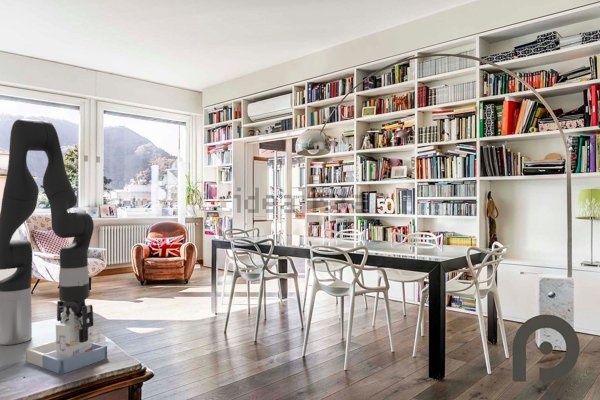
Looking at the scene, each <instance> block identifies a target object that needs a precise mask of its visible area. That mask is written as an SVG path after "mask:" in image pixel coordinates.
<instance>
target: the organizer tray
mask: <svg viewBox="0 0 600 400" xmlns="http://www.w3.org/2000/svg"><path fill="white" fill-rule="evenodd" d="M106 359H108V346H107V345H104V344H101V343H97V342H94V341H92V350H91V351H88V352H85V353H82V354H79V355H76V356H72V357H69V358H66V359H63V360H61V359H58V358H57V350H56V340H53V341H49V342H45V343H42V344H39V345H36V346H31V347H28V348H25V362H27V363H29V364H33V365H35V366H37V367H40V368H43V369H46V370H48V371H51V372H53V373H56V374H58V375H63V374H66V373H69V372H72V371H75V370H78V369H80V368H84V367H86V366H89V365H93V364H95V363H98V362H101V361H103V360H106Z"/></svg>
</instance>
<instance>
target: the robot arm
mask: <svg viewBox="0 0 600 400" xmlns="http://www.w3.org/2000/svg"><path fill="white" fill-rule="evenodd" d="M9 138H10V139H9V151H8V152H9V153H8V165H7V172H6V178H5V183H4V188H3V192H2V193H3V194H2V199H1V206H0V207H1V208H0V271H1V270H10V269H16V270H15V271H14V272H13V274H11V275H9V276H7V277H6V278H3V279H1V280H0V345H3V346H10V345H11V346H12V345H18V344H22V343H25V342H28V341H30V340H31V339H32V338H33V337H32V336H33V333H32V332H33V331H32V329H33V328H32V326H33V324H32V323H33V322H32V276H33V273H32V272H33V247H32V243H31V242H30V241H29V240H28V239H15V240H12V238H13V236H14V234H15V232H16V231H17V230H18V229H19V228H20V227H21V226H22V225H23V224H24V223H25V222H26V221H27V220H29V218H30V217H31V216H32V215H33V213H34V212H35V211H36V208H37V204H38V199H39V193H40V189H39V186H38V184H37V182H36V180H35V178H34V177H33V176H34V175H32V173H31V172H30V170H29V167H28V164H27V163H28V161H27V155H28V152H29V151H31V152H32V151H33V152H34V151H35V152H44V153H45V154H46V155H45V156H46V157H47V160H48V161H47V166H46V169H45V172H44V174H43V179H42V187H43V191H44V193H45V197H46V198H47V200H48V204H49V207H50V216H51V218H50V219H51V220H50V221H51V229H52V231H53V233H54V234H55V235H56V236H57V237H58V238H60V239H69V238H73V240H72V242H71V243H70V244H69V245H66V246H64V247H62V248H61V249H60V251H59V273H58V284H59V285H58V287H59V288H58V290H59V291H58V292H59V294H58V295H59V300H57V302H56V321H57V322H60V323H63V322H66V321H68V320H69V315H70V314H73V313H74V321H75V323H77V324H78V326H79V342H81V343H83V342H86V341H88V328H89V327H91V328H92V327H94V311H93V309H94V308H93V304H87V305H86V300H87V299H88V298H89V297H90V274H89V273H90V272H89V266H88V265H89V263H88V260H89V259H88V252H89V247H90V244H91V240H92V238H93V237H92V236H93V232H94V229H95V228H94V227H95V225H94V223H95V222H94V220H93V218H92V215H90V214H89V213H88V212H83V211H81V212H80V211H79V212H68V210H71V209H72V208H74V207H75V206H76V205H77V202H78V199H77V195H76V193H75V191H74V189H73V186H72V184H71V182H70V179H69V176H68V174H67V169H66V167H65V165H66V164H65V162H64V161H65V160H64V156H63V151H62V148H61V147H62V146H61V143H60V139H59V136H58V132H57V129H56V127H55V125H53V123H52V122H50V121H47V120H38V119H28V118H27V119H26V118H18V119H16V120H15V121H14V122H13V124H12V126H11V130H10V137H9ZM88 318H89V322H88ZM81 322H83V325H82V323H81ZM60 323H59V324H60Z"/></svg>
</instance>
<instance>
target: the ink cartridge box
mask: <svg viewBox="0 0 600 400" xmlns="http://www.w3.org/2000/svg"><path fill="white" fill-rule="evenodd" d="M88 322H89V318H88ZM81 323H82V325H83V322H81ZM55 339H56V340H55V341H56V350H57V358H58V359H61V360H63V359H66V358H69V357H72V356H76V355H79V354H82V353H85V352H88V351H91V350H92V342H93V339H92V326H91V327H89V328H88V341H86V342H83V343H81V342H79V326H78V324H77V323H75V321H74V313H73V314H70V315H69V320H68V321H66V322H63V323H57V324H55Z"/></svg>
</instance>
